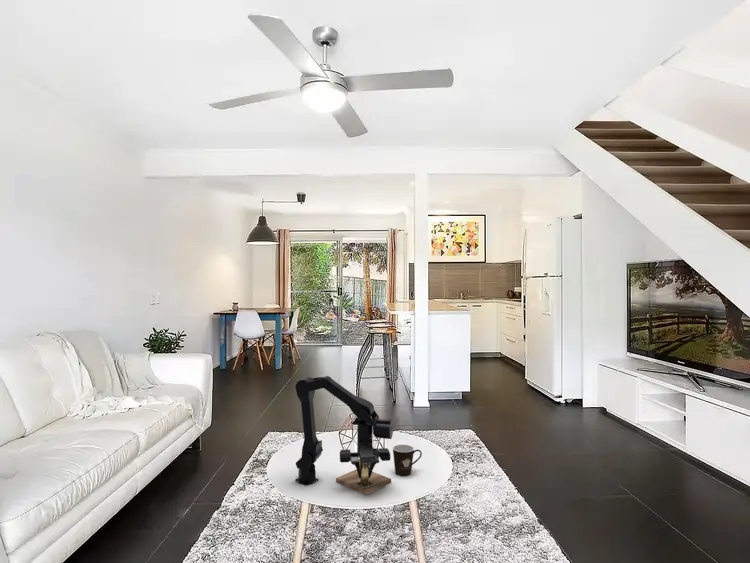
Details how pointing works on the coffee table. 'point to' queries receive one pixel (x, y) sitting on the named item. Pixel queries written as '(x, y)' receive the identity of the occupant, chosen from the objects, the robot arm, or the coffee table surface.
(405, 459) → the coffee mug
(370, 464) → the robot arm
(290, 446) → the coffee table surface
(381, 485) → the pin board
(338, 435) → the coffee table surface
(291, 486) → the coffee table surface
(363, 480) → the brass pin
